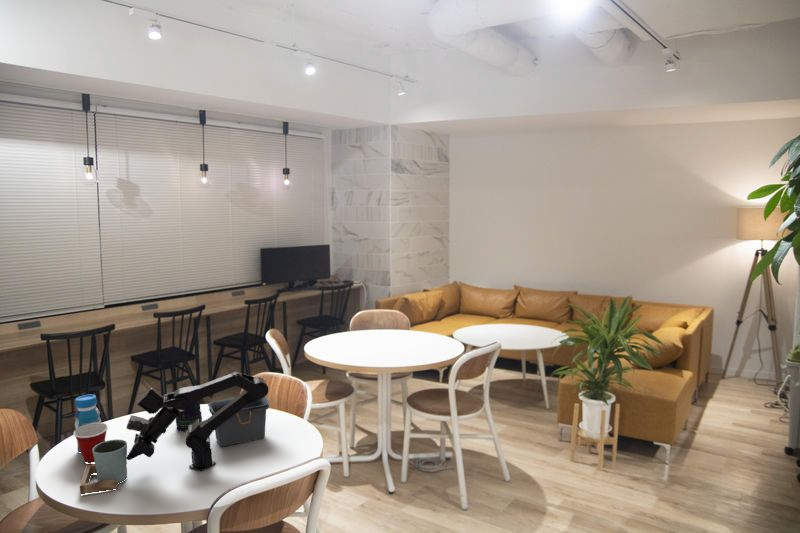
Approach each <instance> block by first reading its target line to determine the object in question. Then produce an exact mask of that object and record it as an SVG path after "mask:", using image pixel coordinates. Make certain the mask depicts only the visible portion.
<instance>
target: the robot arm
mask: <svg viewBox="0 0 800 533" xmlns="http://www.w3.org/2000/svg"><path fill="white" fill-rule="evenodd" d="M233 387H237V388H240V389H242V391H241V393H239V394H238V395H236V397H234V398H235V399H233V400H232V401H231V402H229V403H228V404H227V405H225V406H224V407H223V408H221V409H220V410H219V411H218V412H216V413H215V414H214V415H212V414H211V416H209V417H208V418H206V419H205V420H202V422H200V420H199V419H197V420H196V421H195V422H194V423H193V424H192V425H189V428H188V429H187V431H186V432H185V436H184V437H185V446H186V447H188V448H189V449H191V453H190V454H191V464H190V465H188V468H191V469H193V470H195V471H200V472H203V471H205V470H207V469H209V468H210V467H212V466H215V465H216V464H217V462H216V461H214V460H213V456H212V455H213V454H212V453H213V451H212V448H211V439H210V436H211V435H212V434H213V432H215V429H217V428H218V427H219V426H220V425H222V424H223V423H224V422H226V421H227V420H228V419H230V418H231V417H232V416H233V415H235V414H236V413H237V412H239V411H240V410H241V409H242V408H244V407H245V406H246V405H248V404H251V403H254V402H257V401H258V400H260V399H262V398H264V397H266V396H267V395H268V393H269V386H268V384H267V380H265V379H264V378H263V377H261V376H256V377H254V376H253V375H249V374H245V373H242V372H240V371H237V370H236V371H233V372H231V373H229V374H227V375H223V376H221V377H218V378H215V379H213V380H211V381H208V382H205V383H202V384H200V385H199V384H198V385H194V386H193V385H190V386H183V387H180V388H178V389H176V390H174V391H175V392H174V391H172V392H169V393H166V394H163V395H162V394H160V393H159V392H158V391H157V390H156V389H155V388H153V387H150V388H149V389H148V390H146V392H144V393H143V394H142V395H141V396H139V398H138V399H137V401H136V402H135V404H136V405H137V406H138V407H139V408H141V409H142V410H144V411H145V412H146V413H148V414H150V415H151V414H153V415H154V414H155V415H154V416H151V417H149V419H147V418H144V417H140V416H137V415H134V414H131V415H130V417H129V419H128V422H127V424H126V429H127V430H129V431H135V432H139V433H135V436H134V442H133V443H134V444H133V446H132V447H131V449H130V451H129V452H128V453H127V458H126V459H127V460H128V461H131V460H133V459H134V458H137V457H139V456H141V455H145V456H146V457H148V458H151V457H152V456H153V455H154V454H155V444H157V442H158V439H159V438H160V437H161V436H162V435H164V434H165V433H166V432H167V429H168V428H169V426H171V425H172V423H173V422H174V421H176V418H177V417H178V418H180V419H181V420H183V419H184V415H183V413H184V409H187V408H188V407H190V406H192V405H194V404H195V403H196V402H198V401H199V400H203V399H205V398H207V397H209V396H212V395H215V394H218V393H220V392H223V391H225V390H228V389H231V388H233Z"/></svg>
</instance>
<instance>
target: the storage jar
mask: <svg viewBox="0 0 800 533" xmlns="http://www.w3.org/2000/svg"><path fill="white" fill-rule="evenodd" d="M175 391H176V390H174V391H173V392H175ZM201 400H202V399H200V400H199V401H198V402H196V403H195V404H194V405H192V406H190V407H188V408H187V409H184V413H183V415H184V419H183V420H181V419H180V418H178V417H177V418H176V419H175V426H176V431H177V432H180V433H186V431H187V429H188V428H189V425H192V424H193V423H194V422H195V421H196V420H197V419H199V420H200V422H202V421H203V417H202V411H201V402H202V401H201Z"/></svg>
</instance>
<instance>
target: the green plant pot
mask: <svg viewBox="0 0 800 533" xmlns="http://www.w3.org/2000/svg"><path fill="white" fill-rule="evenodd" d="M92 450H93V456H94V461H95V464H96V471H97V475H96V480H97V482H99V481H105V480H111V479H116V484H118V483H120V482H122V481H124V480H125V479H126V478H127V479H128V467H127V464H128V462H127V460H128V459H126V458H127V456H128V443H127V441H126V440H125V439H124V440H123V439H109V440H105V442H102V443H99V444H97V445H96V446H95V447H94V448H93V449H92ZM127 479H126V480H127ZM124 482H125V481H124Z"/></svg>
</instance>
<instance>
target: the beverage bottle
mask: <svg viewBox="0 0 800 533" xmlns="http://www.w3.org/2000/svg"><path fill="white" fill-rule="evenodd" d="M74 401H75V408H76V411H75V414H74V420H75V422H74V427H75V430H76V429H77V428H79V427H81V426H83V425H86V424H90V423H102V419H101V417H100V415H101V411H100V409H98V407H97V396H96V394H83V395H81V396H77V397H76V398H75V400H74ZM76 441H77V440H76ZM76 443H77V452H78V453H79V452H81V450H80V447H79V444H78V441H77V442H76Z"/></svg>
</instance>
